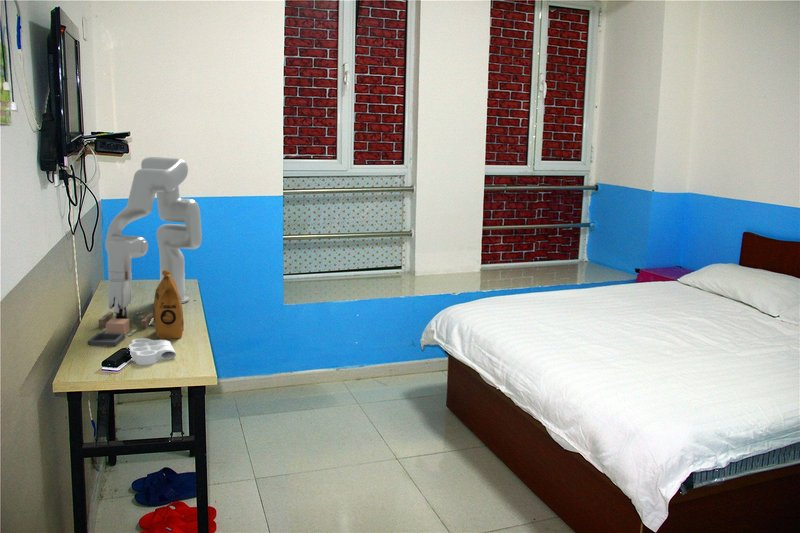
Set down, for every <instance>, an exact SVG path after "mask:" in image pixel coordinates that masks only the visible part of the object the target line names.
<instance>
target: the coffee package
mask: <svg viewBox="0 0 800 533" xmlns="http://www.w3.org/2000/svg"><path fill="white" fill-rule="evenodd" d="M162 274H163V275H164V278H163V279H162V281H161V282H160V281H159V284H158V285H157V287H156V289H155V292H154V293H155V294H154V300H153V308H152V311H153V313H152V314H153V316H154V322H153V324H154V329H155V333H156V336H157V338H158V340H171V339H181V338H182V335H183V332H184V331H185V330H184V329H185V328H184V324H185V323H184V310H183V303H181V299H180V296H179V292H178V289H177V285H176V283H175V281H174V280H173V278H172V277H171V273H170V272H169V271H168V270H164V271H163V272H162Z"/></svg>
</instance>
